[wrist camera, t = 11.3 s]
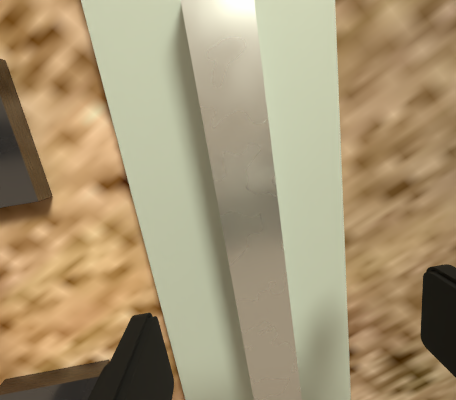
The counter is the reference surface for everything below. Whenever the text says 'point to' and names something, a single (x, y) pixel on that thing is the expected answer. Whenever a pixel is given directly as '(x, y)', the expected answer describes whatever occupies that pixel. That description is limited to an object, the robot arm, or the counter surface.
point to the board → (206, 195)
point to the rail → (245, 185)
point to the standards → (20, 194)
